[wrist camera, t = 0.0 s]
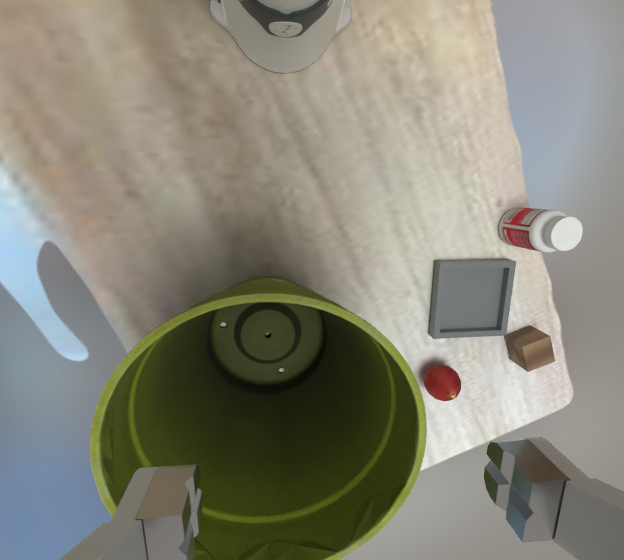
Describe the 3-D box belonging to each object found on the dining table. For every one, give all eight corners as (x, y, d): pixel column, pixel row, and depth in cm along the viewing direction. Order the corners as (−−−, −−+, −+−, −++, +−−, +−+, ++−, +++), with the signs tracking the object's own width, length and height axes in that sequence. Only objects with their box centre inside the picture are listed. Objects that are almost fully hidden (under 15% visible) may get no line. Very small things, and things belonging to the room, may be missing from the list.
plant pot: (180, 412, 62) (105, 594, 34) (173, 239, 54) (71, 290, 27) (350, 409, 65) (408, 572, 37) (364, 246, 58) (448, 297, 30)
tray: (434, 260, 60) (440, 263, 58) (507, 258, 61) (516, 261, 59) (428, 333, 63) (433, 338, 61) (498, 330, 64) (505, 335, 62)
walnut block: (503, 335, 65) (522, 346, 60) (529, 325, 65) (550, 336, 60) (509, 358, 66) (527, 371, 61) (534, 348, 66) (555, 361, 61)
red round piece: (441, 351, 64) (464, 373, 56) (453, 376, 65) (477, 401, 58) (412, 367, 64) (431, 391, 56) (424, 391, 66) (445, 418, 58)
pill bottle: (525, 247, 61) (579, 259, 50) (492, 242, 60) (540, 253, 49) (536, 210, 59) (594, 214, 49) (503, 204, 59) (554, 207, 48)
